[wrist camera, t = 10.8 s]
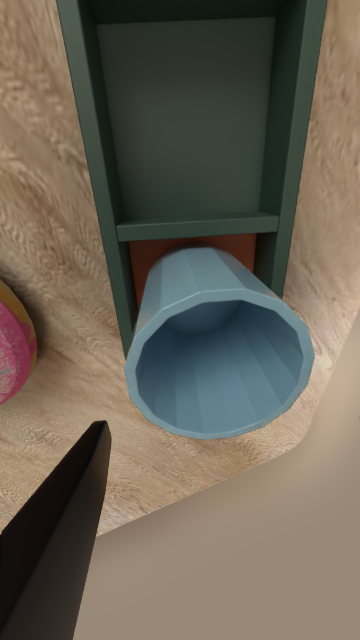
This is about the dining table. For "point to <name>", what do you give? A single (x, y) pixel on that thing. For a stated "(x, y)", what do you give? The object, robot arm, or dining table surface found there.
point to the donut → (14, 344)
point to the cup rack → (192, 128)
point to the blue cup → (213, 346)
